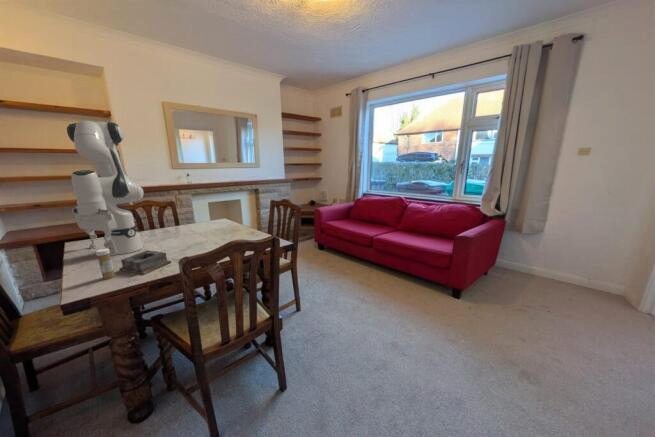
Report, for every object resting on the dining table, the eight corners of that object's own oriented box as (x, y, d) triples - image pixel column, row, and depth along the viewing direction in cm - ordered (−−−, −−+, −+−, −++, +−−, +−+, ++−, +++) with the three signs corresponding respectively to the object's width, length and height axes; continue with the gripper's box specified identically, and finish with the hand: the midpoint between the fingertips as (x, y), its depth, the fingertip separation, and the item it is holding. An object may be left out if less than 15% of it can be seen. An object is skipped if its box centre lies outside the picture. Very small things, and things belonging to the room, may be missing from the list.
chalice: (83, 250, 151) (75, 221, 147) (91, 246, 157) (83, 218, 153) (97, 248, 153) (90, 220, 148) (104, 245, 159) (97, 217, 155)
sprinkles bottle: (102, 277, 115) (94, 250, 112) (114, 273, 118) (107, 247, 115) (104, 280, 112) (96, 252, 109) (116, 276, 116) (109, 249, 112)
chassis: (119, 270, 122) (117, 259, 121) (147, 259, 135) (145, 249, 134) (144, 274, 117) (142, 263, 116) (171, 262, 130) (169, 252, 128)
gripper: (117, 208, 107) (124, 238, 111) (86, 206, 114) (94, 235, 117) (100, 211, 101) (108, 243, 105) (69, 209, 108) (77, 239, 111)
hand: (100, 239), depth 111 cm, fingers open, 8 cm apart
